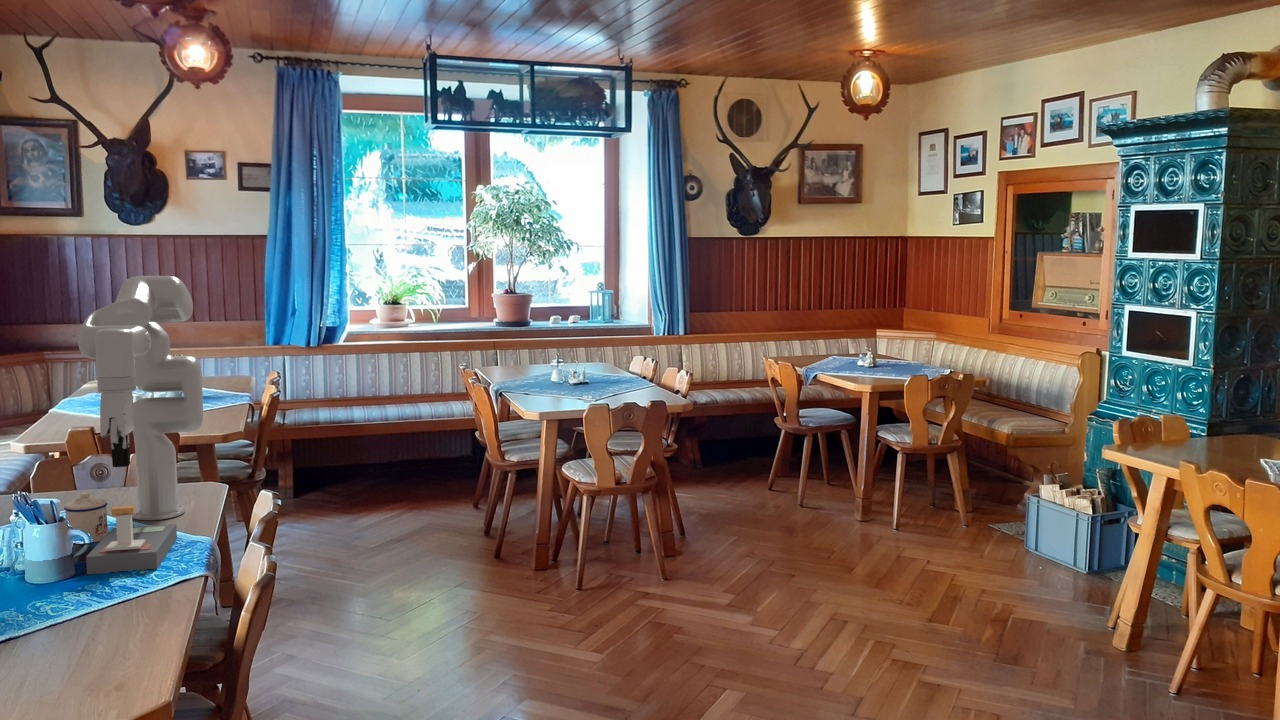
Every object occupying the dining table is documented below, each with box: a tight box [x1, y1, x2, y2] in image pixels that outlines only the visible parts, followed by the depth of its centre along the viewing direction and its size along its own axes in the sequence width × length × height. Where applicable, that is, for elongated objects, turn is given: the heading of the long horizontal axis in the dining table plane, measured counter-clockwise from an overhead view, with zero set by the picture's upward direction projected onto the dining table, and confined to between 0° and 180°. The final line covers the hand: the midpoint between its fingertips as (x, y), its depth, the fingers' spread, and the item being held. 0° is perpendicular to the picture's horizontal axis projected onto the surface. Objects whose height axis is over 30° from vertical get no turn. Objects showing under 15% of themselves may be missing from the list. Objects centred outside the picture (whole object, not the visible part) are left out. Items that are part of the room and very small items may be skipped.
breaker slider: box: [105, 505, 146, 551], centre depth 212 cm, size 5×7×9 cm
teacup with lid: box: [64, 491, 109, 544], centre depth 233 cm, size 12×9×12 cm
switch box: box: [85, 523, 178, 575], centre depth 220 cm, size 22×14×4 cm, turn 15°
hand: (121, 465), depth 211 cm, fingers closed
